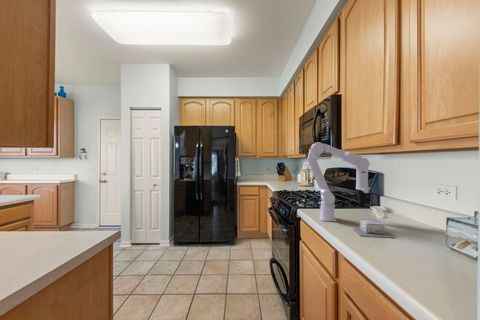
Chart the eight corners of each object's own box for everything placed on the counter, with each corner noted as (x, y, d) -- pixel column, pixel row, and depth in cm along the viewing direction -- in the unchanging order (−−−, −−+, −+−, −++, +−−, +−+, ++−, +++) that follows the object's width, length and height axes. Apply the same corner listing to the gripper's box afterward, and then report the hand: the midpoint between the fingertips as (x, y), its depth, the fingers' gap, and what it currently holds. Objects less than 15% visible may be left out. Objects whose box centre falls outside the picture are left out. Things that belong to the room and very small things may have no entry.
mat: (352, 228, 115) (352, 228, 115) (384, 230, 112) (384, 229, 112) (360, 236, 104) (360, 235, 104) (394, 238, 101) (394, 237, 101)
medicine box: (376, 219, 114) (385, 224, 105) (376, 228, 114) (385, 234, 105) (359, 219, 115) (367, 223, 106) (359, 228, 115) (367, 233, 106)
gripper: (375, 181, 121) (374, 207, 121) (365, 178, 135) (365, 202, 135) (360, 180, 122) (360, 206, 122) (352, 178, 136) (352, 201, 136)
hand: (361, 204), depth 129 cm, fingers closed
